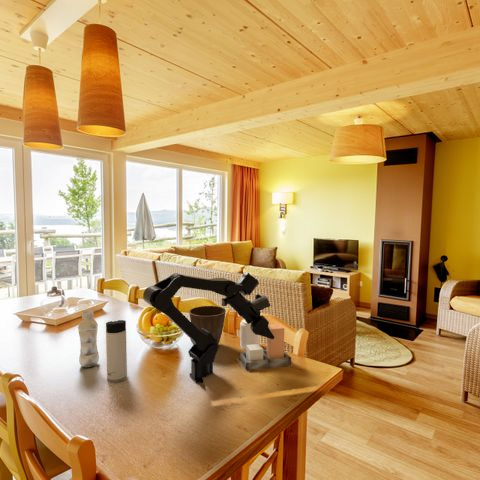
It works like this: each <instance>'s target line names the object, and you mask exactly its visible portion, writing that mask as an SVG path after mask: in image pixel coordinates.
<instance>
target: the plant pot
mask: <svg viewBox="0 0 480 480" xmlns="http://www.w3.org/2000/svg"><path fill="white" fill-rule="evenodd" d="M226 312H227V311H226V309H225V308H224V307H223V306H218V305H217V306H216V305H202V306H195V307H193V308H191V309H190V310H189V312H188V313H189V321H190V322H191V323H192V324H193V325H194V326H195V327H196V328H197V329H199V330H201V328H203V329H205V330H206V331H208V332H210V333H211V334H212V336H213V337H214V338H216V339H217V341H216V342H217V343H218V345H219V343H220V341H221V338H222V334H223V330H224V325H225V320H226V314H227V313H226Z"/></svg>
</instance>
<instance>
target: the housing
mask: <svg viewBox="0 0 480 480" xmlns="http://www.w3.org/2000/svg"><path fill="white" fill-rule="evenodd" d="M238 356H239V357H236V361H237V362H238V364H239V366H240V368H241V369H242V371H243V372H244V373H246V372H254V371H262V370H269V369H277V368H279V369H280V368H286V367H294V366H295V364H294V363H293V362H292V357H291V356H290V355H289V354H288V353H287V352H286V351H285V350H284V357H283V358H274V359H269V358H268V357H267V349H263V360H257V361H247V359H246V351H243V352H241V351H240V352H239V353H238Z"/></svg>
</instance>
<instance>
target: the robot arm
mask: <svg viewBox="0 0 480 480" xmlns="http://www.w3.org/2000/svg"><path fill="white" fill-rule="evenodd" d="M258 285H260V282H259V280H258V279H257V278H255V277H254V276H253V275H252V274H250V273H249V272H247V271H246V272H244V273H243V275H242V276H241V277H240V279H239V280H238V281H237V282H236V281H233V280H232V279H231V280H230V279H227V278H225V277H213V278H205V277H204V278H203V277H200V276H199V277H198V276H191V275H187V274H186V275H185V274H180V273H178V272H174V273H172V274H170V275H169V276H168V277H166V278H164V279H161V280H160V281H157V283H155V284H153V285H150V286H148V287H147V288H145V290H144V291H143V296H142V298H143V300H144V302H145V303H146V304H149V306H152V307H153V308H154V309H156V310H158V311H159V312H160V313H163V314H164V315H165V316H166V317H167V318H168V319H169V320H170V321H171V322H173V324H174V325H176V326H177V327H178V329H180V330H181V331H182V332H183V333H184V334H185V335H186V336H187V337H188V338H189V339H190V341H191V343H192V346H191V347H190V348H189V350H188V355H189V356H188V357H190V358H191V360H190V363H191V364H190V368H191V369H190V373H189V377H190V378H191V379H192V381H194V382H195V384H199V383H202V382H204V378H208V377H209V376H210V375H212V374H213V373H214V361H215V359H216V355H217V352H218V351H219V346H220V345H219V344H218V343H217V342H216V341H217V339H216V338H214V337H213V336H212V334H211V333H210V332H208V331H206V330H205V329H203V328H201V330H199V329H197V328H196V327H195V326H194V325H193V324H192V323H191V320H190V319H189V318H188V317H186V316H185V315H184V314H183V313H182V312H181V311H180V310H179V309H178V308H177V307H176V305H175V303H174V302H173V300H172V298H174V296H175V295H177V292H178V291H179V290H180V289H181V288H187V289H194V290H195V289H196V290H202V291H208V292H209V291H210V292H212V293H216V294H219V295H220V296H224V297H223V298H221V307H227V306H228V305H229V306H230V308H232V309H233V310H234V311H235V312H236V313H237V314H238V316H240V318H242V319H244V320H245V321H246V322H247V323H248V324H249V323H251V325H250V328H251V330H252V332H253V333H254V334H255V335H260V337H264V338H266V339H267V338H270V339H274V338H275V337H274V335H273V334H272V332H271V331H270V329H269V328H268V325H269V324H270V322H269V320H268V319H267V318H266V317H265V316H264V315H261V311H262V310H264V309H266V308H270V307H271V303H270V301H269V298H268V297H267V296H266V295H261V294H260V293H257V294H255V295H254V299H253V301H250V299H247V298H246V296H251V294H252V293H253V292H254V290H255V289H256V288H257V287H258Z"/></svg>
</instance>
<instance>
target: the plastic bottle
mask: <svg viewBox="0 0 480 480" xmlns="http://www.w3.org/2000/svg"><path fill="white" fill-rule="evenodd" d="M81 314H82V315H81V318H82V319H81V321H80V322H79V324H78V326H77V329H78V335H79V342H80V343H79V344H80V351H79V353H80V354H79V358H78V359H79V360H78V361H79V365H80V366H81V367H82V368H91V367H94V366H96V365H97V364H98V363H99V360H100V355H99V350H98V343H97V341H98V340H97V339H98V327H99V325H98V322H97V320H95V318H94V317H95V316H94V310H90V309H89V310H84V311H82V313H81Z"/></svg>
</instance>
